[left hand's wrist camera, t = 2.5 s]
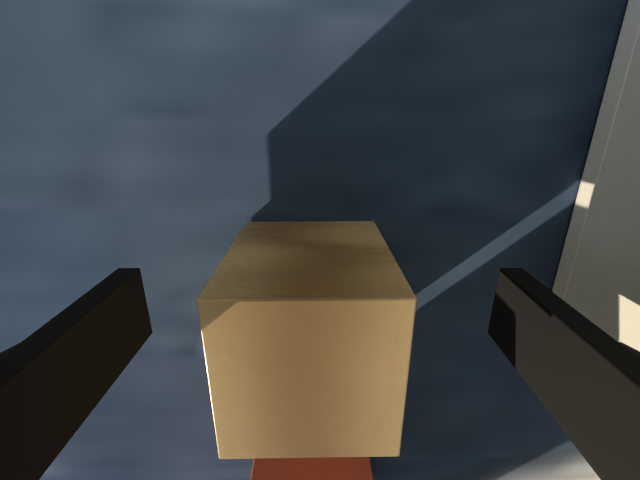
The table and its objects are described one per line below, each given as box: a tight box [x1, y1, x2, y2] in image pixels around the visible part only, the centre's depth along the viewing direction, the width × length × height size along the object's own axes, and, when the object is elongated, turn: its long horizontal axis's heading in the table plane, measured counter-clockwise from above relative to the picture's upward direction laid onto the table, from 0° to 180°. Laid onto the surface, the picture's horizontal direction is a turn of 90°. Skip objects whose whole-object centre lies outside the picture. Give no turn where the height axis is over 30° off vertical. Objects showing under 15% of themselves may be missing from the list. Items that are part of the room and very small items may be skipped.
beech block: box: [197, 221, 417, 459], centre depth 11 cm, size 5×5×6 cm
